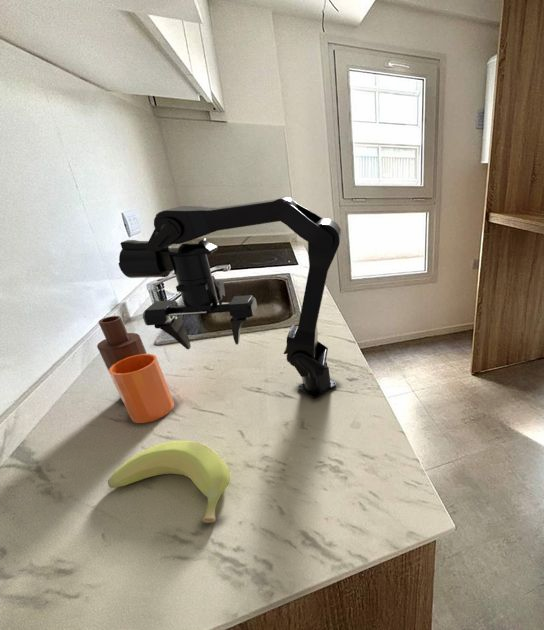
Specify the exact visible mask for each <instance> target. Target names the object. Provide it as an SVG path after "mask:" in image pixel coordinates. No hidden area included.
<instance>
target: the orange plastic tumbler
mask: <svg viewBox="0 0 544 630" xmlns="http://www.w3.org/2000/svg"><path fill="white" fill-rule="evenodd" d="M108 373H109V376H110V377H112V378H111V380H112V382H113V384H114V386H115V389H116V390H117V393H118V395H119V397H120V399H121V401H122V403H123V405H124V408H125V409H126V412H127V414H128V416H129V417H130V419H131V421H132V422H133V423H136V424H147V423H150V422H151V423H152V422H154V421H157V420H159V419H161V418H163V417H165V416H166V415H168V414H169V413H171V411H172V410H174V407H175V401H174V398H173V396H172V394H171V391H170V388H169V386H168V383H167V381H166V378H165V375H164V373H163V370H162V368H161V365H160V363H159V360H158V357H157V355H155V354H153V353H147V354H139V355H134V356H131V357H127V358H125V359H122V360H120V361H118V362H117V363H115V364H113V365H112V366H111V367H110V369H109V371H108Z"/></svg>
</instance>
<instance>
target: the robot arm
mask: <svg viewBox="0 0 544 630" xmlns="http://www.w3.org/2000/svg"><path fill="white" fill-rule="evenodd" d="M278 222H281V223H282V224H284V225H285V226H286V227H288V228H289V229H290V230H292V231H293V232H294V234H296V235H297V236H298V237H300V238H301V239H302V240H305V241H306V242H307V256H308V257H307V258H308V265H309V266H308V271H307V272H308V273H307V278H306V283H305V287H304V294H303V299H302V304H301V310H300V314H299V320H298V325H294V324H291V326H290V329H289V331H288V333H287V336H286V346H285V349H284V351H283V355H286V362H287V363H289V364H290V365H291V366H293V367H294V369H295V370H296V371H297V372H298V374H299V376H300V377H301V379H302V383H300V384H299V385H297V389H298V390H299V391H301V392H302V393H304V394H305V395H308V396H309V397H310V398H312V399H314V400H315V399H318V398H320V397H321V396H322V395H324V394H325V393H328V391H330V390H332V389H333V388H335V387H336V386H337V382H335V381H333V380H332V379H331V376H330V375H331V374H330V367H329V365H328V362H327V358H328V351H329V347H327V346H326V345H325V344H323V343H322V342H320V341H319V340H318V339H319V337H318V336H319V335H318V333H319V331H318V320H319V316H320V312H321V311H320V310H321V306H322V301H323V296H324V292H325V287H326V282H327V278H328V273H329V269H330V268H331V265H332V263H333V261H334V259H335V256H336V254H337V251H338V249H339V248H340V247H339V246H340V243H341V239H342V229H341V227H340V226H339V224H338V223H337V222H336V221H334V220H333V219H330V218H323V217H322V216H320V215H318V214H317V213H315V212H314V211H312V210H310V209H308V208H306V207H304V206H303V205H301V204H299V203H298V202H296V201H295V200H294V199H293V198H291V197H288V196H281V197H279V198H276V199H274V198H273V199H268V200H262V201H261V200H260V201H255V202H248V203H247V202H246V203H243V204H242V203H240V204H234V205H228V206H219V207H208V206H202V205H201V206H199V205H179V206H175V207H173V208H169V209H165V210H161V211H159V212H158V213H156V214H155V216H154V219H153V226H154V230H153V232H152V233H151V235H150V236H149V237H150V238H149V239H148V240H137V239H127V240H124V241H121V242H120V247H121V251H120V252H119V256H118V257H119V258H118V261H119V262H118V268H119V269H120V271H121V273H122V274H123V275H124V276H125V277H126V278H129V279H143V278H144V279H147V278H149V279H151V278H168V277H169V275H171V272H173V271H174V275H175V278H176V282H177V285H176V286H175V290H176V292H177V293H180V296H181V300H182V302H183V305H179V303H178V302H177V301H176V300H175V299H173V300H158V301H157V300H155V301H154V302H152V304H150V305H149V306H148V307H147V308H146V309H145V310H144V311H143V312H142V319H143V322H144V325H145V326H154V328H155V329H160V330H162V331H163V332H164V333H166V334H168V335H169V336H170V337H172V338H173V339H174V340H175V341H176V342H178V343H179V344H180V345H181V346H183V347H184V348H185V349H186V350H190V349H191V347H192V346H191V340H190V338H189V334H188V332H187V330H186V327H185V324H184V320H183V318H184V317H183V316H190V315H204V314H217V313H218V314H219V313H229V315H230V317H231V318H230V320H229V322H230V323H229V324H230V328H231V333H232V336H233V337H232V338H233V340H234V343H235V345H237V346H238V345H239V343H240V340H241V339H240V338H241V333H242V326H243V322H247V321H248V319H249V318H252V317H253V316H254V314H255V312H256V311H257V307H258V303H257V299H256V297H254V296H253V295H252V294H251V295H250V294H249V295H248V294H247V295H236V296H235V295H234V296H233V298H232V299H231V301H227V302H219V301H222V299H223V297H226V291H225V283H224V281H216V277H215V275H212V271H211V266H210V263H209V258H208V255H211V254H213V253H214V252H216V251H217V250H218V249H219V247H218V246H217V245H215V244H213V243H211V242H210V241H209V240H208V239H207V238H203V239H201V240H199V241H198V243H197V242H196V243H194V242H191V241H194V240H196V239H199V238H201V237H204V236H207V235H209V234H212V233H215V232H219V231H223V230H230V229H237V228H244V227H250V226H258V225H264V224H270V223H278ZM188 242H191V243H188ZM173 245H179V246H178V247H171V246H173Z"/></svg>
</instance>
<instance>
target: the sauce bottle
mask: <svg viewBox="0 0 544 630" xmlns="http://www.w3.org/2000/svg"><path fill="white" fill-rule="evenodd" d="M98 324H99V327H100V329H101V331H102V334H103V336H104V338H105V339H103V340H101V341H99V342H98V344H97V345H96V348H97V350H98V352H99V354H100V356H101V358H102V360H103V363H104V365H105V367H106V370H107V371H108V372H109V369H110V367H111V366H112V365H113V364H115V363H117V362H118V361H120V360H122V359H125V358H127V357H131V356H134V355H139V354H148V353H147V351H146V348H145V345H144V343H143V341H142V337H141V335H140V334H138V333H136V332H128V331H127V329H126V325H125V323H124V321H123V319H122V317H121V316H120V315H112V316H107V317H103V318H101V319H100V320H98ZM110 377H111V376H110ZM111 379H112V377H111Z"/></svg>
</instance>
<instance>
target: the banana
mask: <svg viewBox="0 0 544 630" xmlns="http://www.w3.org/2000/svg"><path fill="white" fill-rule="evenodd" d="M169 474H172V475H173V474H174V475H181V476H185V477H187V478H189V479H190V480H191V481H192V483H193V484H194V485H195V486H196V487H197V488H198V490H200V492H201V493H202V494H203V496H204V497H206V498H207V507H206V510H205V513H204V515H203V517H202V520H201V521H202V522H203V523H204V524H205V523H206V524H213V523H215V522H216V520H217V518H216V507H217V504H218V501H219V499H220V497H221V496H222V494H223V493H224V492H225V490H226V489H227V488H228V486H229V484H230V481H231V471H230V468H229V466H228V465H227V463H226V461H225V460H224V459H223V458H222V457H221V456H220V455H219V454H218V453H217V452H216V451H215V450H213V448H211V447H209V446H207V445H206V444H204V443H201V442H198V441H193V440H171V441H166V442H162V443H159V444H156V445H153V446H151V447H148V448H146V449H144V450H142V451H140V452H138V453H137V454H136V455H133V456H132V457H131V458H129V459H128V460H126V461H125V462H124V463H123V464H122V465H120V466H119V467H118V468H117V469H116V470H115V471H114V472H113V473H112V474H111V475H110V477H109V478H108V479H107V485H108V487H109V488H111V489H114V488H119V487H125V486H127V485H130V484H133V483H136V482H139V481H142V480H144V479H147V478H151V477H155V476H160V475H169Z"/></svg>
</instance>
